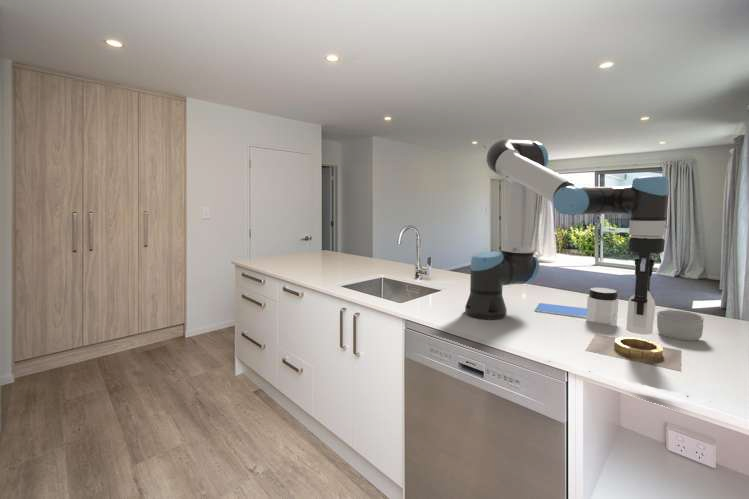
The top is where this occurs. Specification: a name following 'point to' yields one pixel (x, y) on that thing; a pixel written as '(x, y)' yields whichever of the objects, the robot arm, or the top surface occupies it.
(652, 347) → the collar
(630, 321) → the white tall rounded piece
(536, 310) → the tablet computer
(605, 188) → the robot arm
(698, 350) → the top surface
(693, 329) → the teacup
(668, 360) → the walnut board
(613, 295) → the jar
